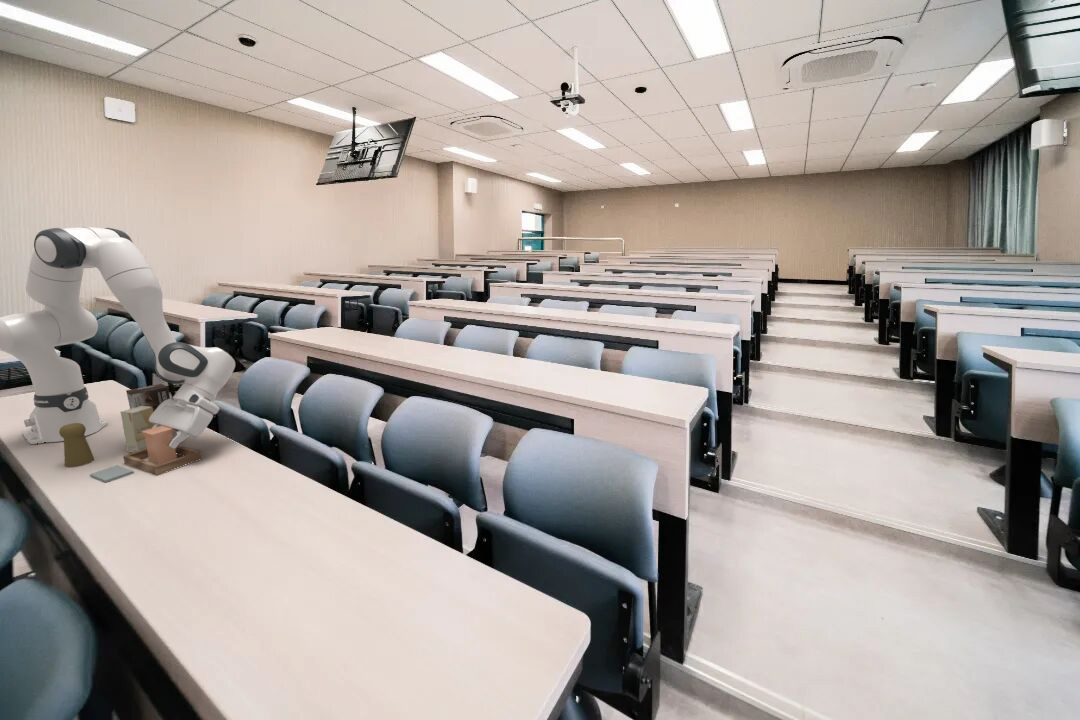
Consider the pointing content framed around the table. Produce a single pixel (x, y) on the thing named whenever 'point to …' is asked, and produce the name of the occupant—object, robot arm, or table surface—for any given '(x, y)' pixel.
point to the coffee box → (148, 397)
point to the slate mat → (111, 473)
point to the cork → (75, 445)
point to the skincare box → (136, 427)
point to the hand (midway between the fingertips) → (160, 444)
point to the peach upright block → (159, 444)
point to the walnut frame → (188, 457)
